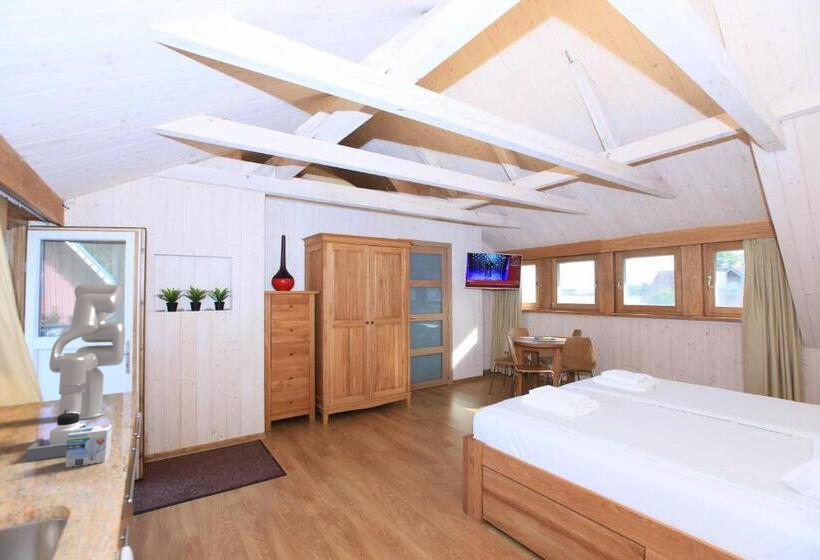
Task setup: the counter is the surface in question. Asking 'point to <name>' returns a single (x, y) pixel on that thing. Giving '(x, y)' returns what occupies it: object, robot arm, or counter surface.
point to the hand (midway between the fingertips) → (69, 436)
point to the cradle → (45, 451)
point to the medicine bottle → (64, 427)
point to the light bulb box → (88, 445)
